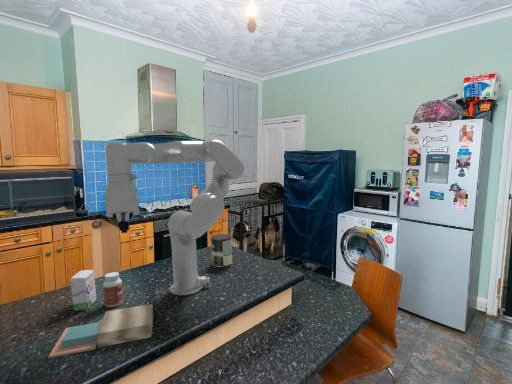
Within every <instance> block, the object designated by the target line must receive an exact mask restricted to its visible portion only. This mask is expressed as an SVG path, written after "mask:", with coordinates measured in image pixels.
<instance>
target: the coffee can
mask: <svg viewBox="0 0 512 384" xmlns="http://www.w3.org/2000/svg"><path fill="white" fill-rule="evenodd" d="M210 245H211V246H210V251H211V252H210V253H211V266H212V265H213V266H216V267H221V266H227V265H230V264H232V265H233V253H232V250H233V249H232V247H233V245H232V235H231V234H226V233H225V234H224V233H223V234H222V233H219V234H214V235H212V236H210ZM213 266H212V267H213ZM216 267H215V268H216Z"/></svg>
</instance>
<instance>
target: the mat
mask: <svg viewBox="0 0 512 384" xmlns="http://www.w3.org/2000/svg"><path fill="white" fill-rule="evenodd" d="M93 323H94V322H91V324H93ZM96 323H98V322H96ZM82 325H83V324H82ZM82 325H79V326H82ZM85 325H87V323H86V324H85ZM76 326H77V325H75V326H73V327H76ZM70 327H71V326H70ZM70 327H66V328H64V330H63V332H62V333H61V335H60V337H59V339H58V340H57V342H56V343H55V345H54V347H53V348H52V350H51V351H50V353H49V355H48V359H54V358H57V357H62V356H63V357H64V356H68V355H73V354H74V355H75V354H78V353H83V352H89V351H92V350H96V349H97V347H98V343H97V341H96V342H91V343H86V344H81V345H76V346H70V347H65V348H62V340H63V338H64V336H65V335H66V333H67V331H68V329H69V328H70Z"/></svg>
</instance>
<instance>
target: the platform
mask: <svg viewBox="0 0 512 384" xmlns="http://www.w3.org/2000/svg"><path fill="white" fill-rule="evenodd" d="M153 306H154V305H153V303H150V304H148V303H147V304H142V305H138V306H130V307H125V308H120V309H119V308H118V309H112V310H107V311H105V313H104V316H103V318H102V321H100V322H101V325H100V327H99V330H98V332H97V343H98V344H97V348H103V347H107V346H108V347H109V346H114V345H117V344H122V343H128V342H129V343H130V342H134V341H138V340H143V339H148V338H152V337H153V336H152V335H153V325H154V307H153Z"/></svg>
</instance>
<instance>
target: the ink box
mask: <svg viewBox="0 0 512 384" xmlns="http://www.w3.org/2000/svg"><path fill="white" fill-rule="evenodd" d="M70 290H71V298H72V308H73V311H74V312H76V311H85V310H89V309H90V308H91V307H92V305H93V304H94V302H95V301H96V300H97V291H96V280H95V270H94V269H83V270H82V269H81V270H79V271H78V272H77V273H76V274H74V275H73V276H72V277H71V278H70Z"/></svg>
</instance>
